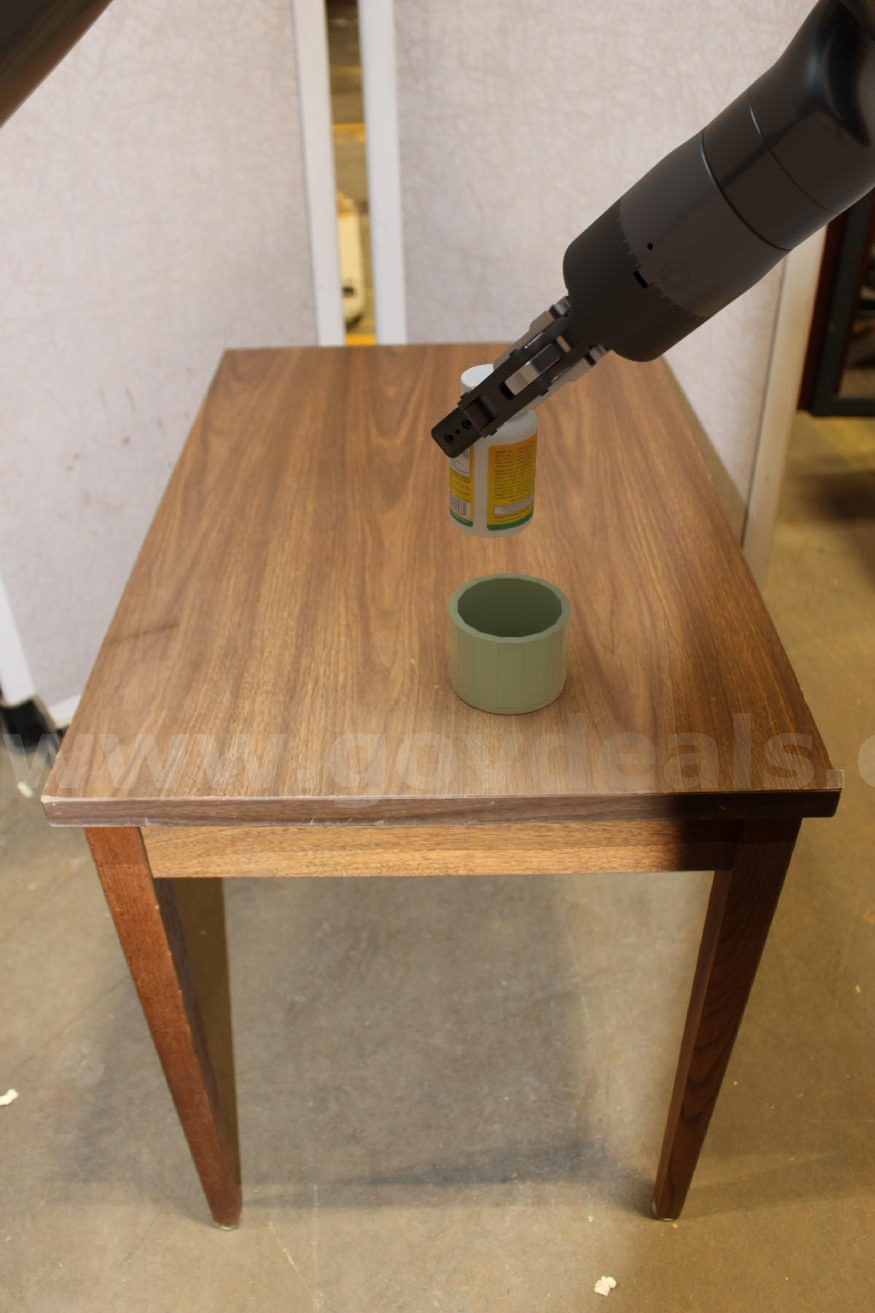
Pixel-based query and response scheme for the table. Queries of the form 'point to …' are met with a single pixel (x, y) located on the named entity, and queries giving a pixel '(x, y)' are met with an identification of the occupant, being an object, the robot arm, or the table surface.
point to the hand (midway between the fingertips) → (466, 424)
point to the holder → (508, 642)
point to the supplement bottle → (495, 474)
